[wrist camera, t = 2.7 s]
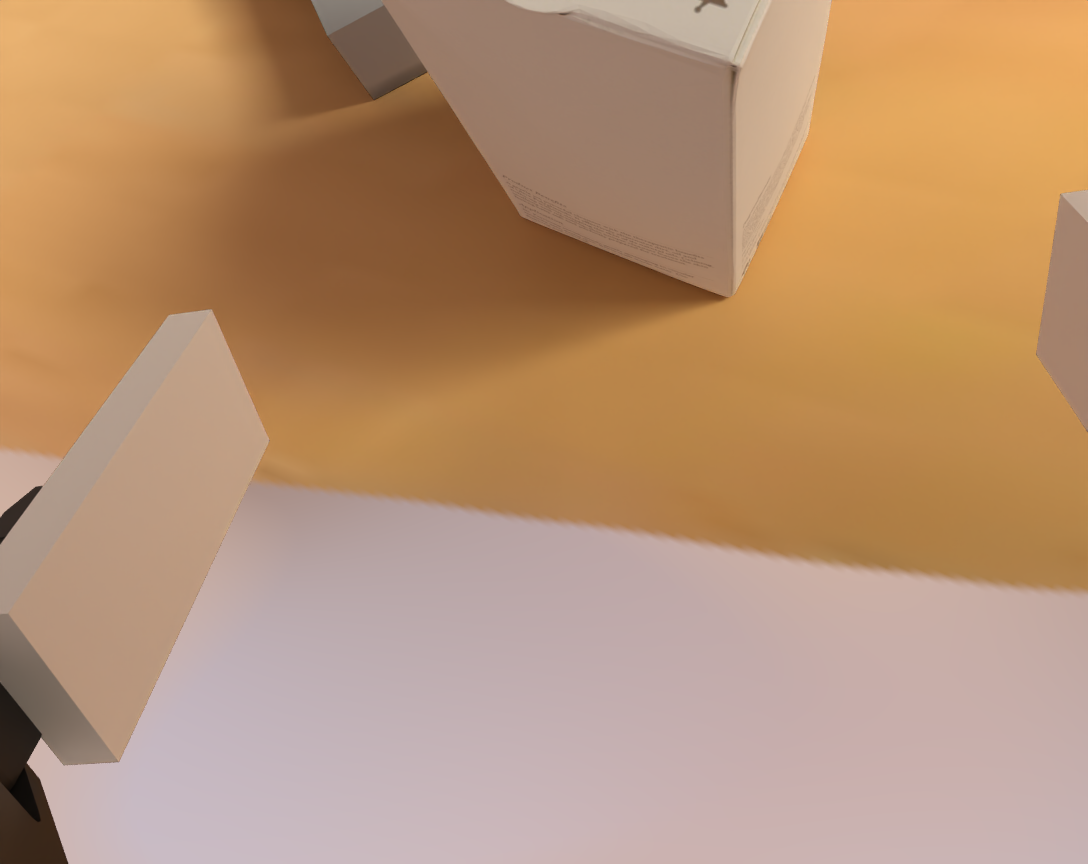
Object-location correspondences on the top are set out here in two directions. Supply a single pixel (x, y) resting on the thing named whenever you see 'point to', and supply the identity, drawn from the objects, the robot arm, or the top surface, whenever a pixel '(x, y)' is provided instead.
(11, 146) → the top surface
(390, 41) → the tray
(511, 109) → the skincare box
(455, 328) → the top surface
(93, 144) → the top surface
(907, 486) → the top surface
